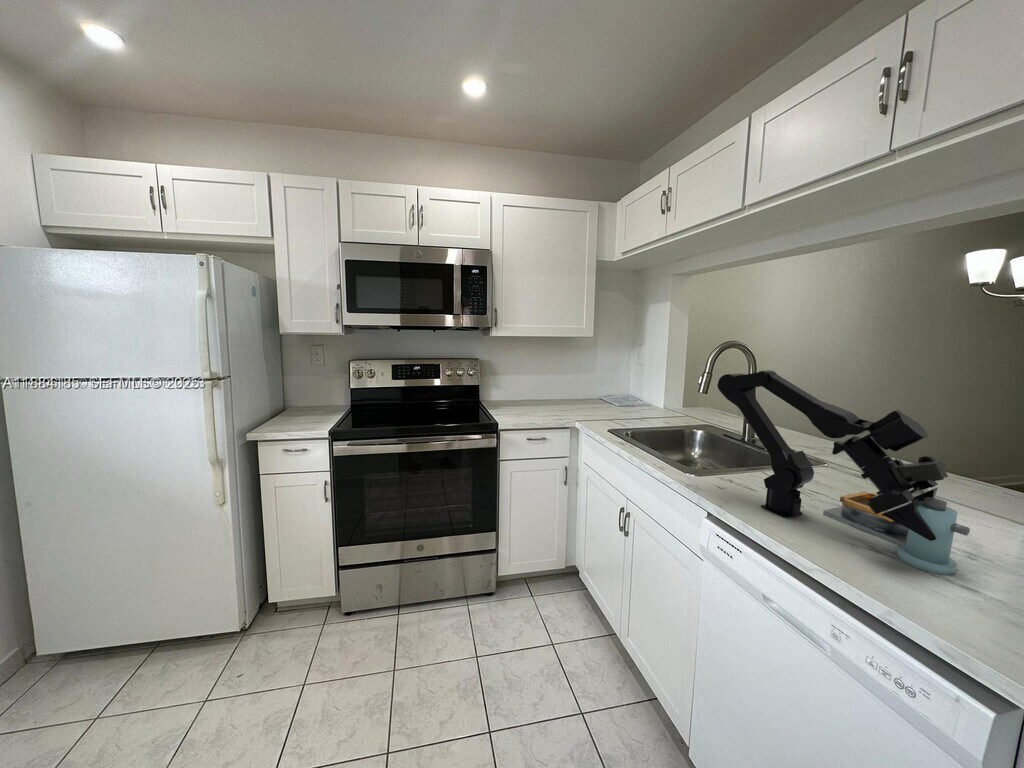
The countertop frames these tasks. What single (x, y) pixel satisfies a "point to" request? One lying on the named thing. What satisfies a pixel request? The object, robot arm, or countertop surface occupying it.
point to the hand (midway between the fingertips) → (940, 534)
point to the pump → (937, 551)
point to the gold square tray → (867, 518)
